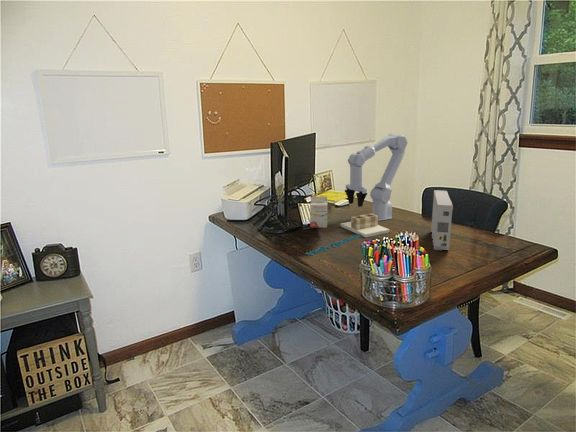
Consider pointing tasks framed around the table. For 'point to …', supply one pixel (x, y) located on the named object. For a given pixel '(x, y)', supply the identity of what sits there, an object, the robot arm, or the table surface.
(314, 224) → the ink cartridge box
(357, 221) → the block
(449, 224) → the game console
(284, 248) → the table surface
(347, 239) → the nameplate
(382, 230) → the pin board
